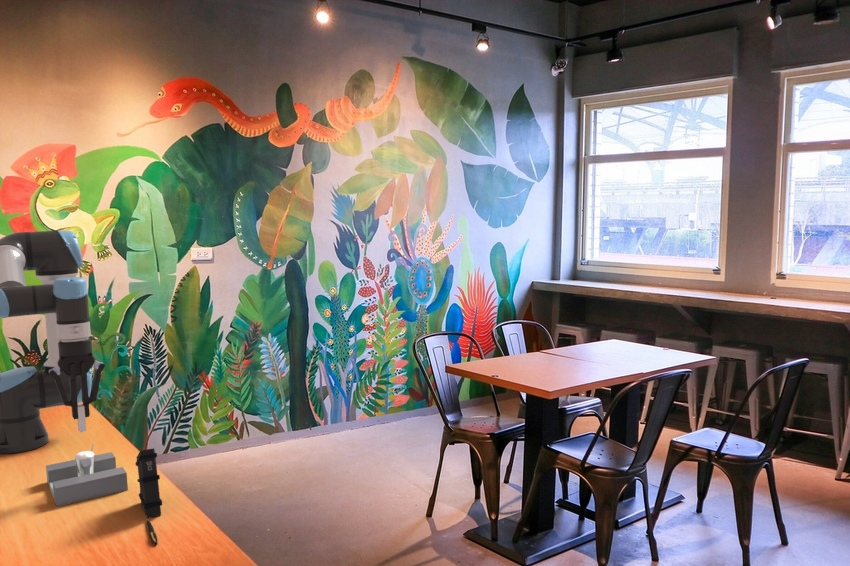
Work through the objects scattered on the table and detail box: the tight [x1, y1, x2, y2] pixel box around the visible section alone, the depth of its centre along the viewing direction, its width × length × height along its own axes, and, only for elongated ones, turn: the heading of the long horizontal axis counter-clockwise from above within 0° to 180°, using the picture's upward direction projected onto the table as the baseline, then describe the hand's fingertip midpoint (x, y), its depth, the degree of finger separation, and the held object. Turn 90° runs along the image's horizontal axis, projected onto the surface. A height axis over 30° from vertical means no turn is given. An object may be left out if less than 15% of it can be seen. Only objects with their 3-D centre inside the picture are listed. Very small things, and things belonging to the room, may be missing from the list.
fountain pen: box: [145, 518, 158, 546], centre depth 152 cm, size 14×1×2 cm, turn 29°
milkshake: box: [74, 444, 95, 476], centre depth 179 cm, size 4×5×10 cm
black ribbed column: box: [134, 447, 163, 519], centre depth 164 cm, size 4×13×15 cm, turn 29°
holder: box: [45, 451, 129, 507], centre depth 179 cm, size 19×16×4 cm
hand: (82, 430), depth 178 cm, fingers closed
